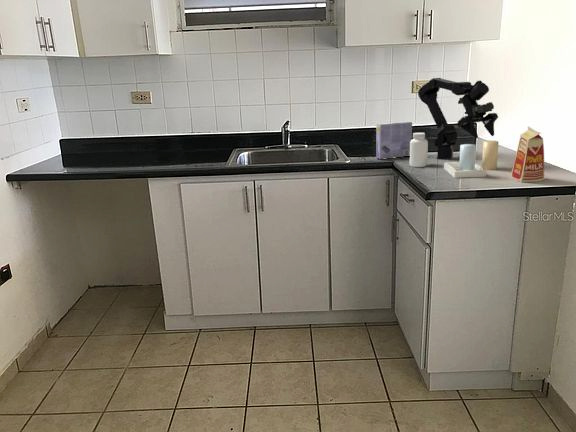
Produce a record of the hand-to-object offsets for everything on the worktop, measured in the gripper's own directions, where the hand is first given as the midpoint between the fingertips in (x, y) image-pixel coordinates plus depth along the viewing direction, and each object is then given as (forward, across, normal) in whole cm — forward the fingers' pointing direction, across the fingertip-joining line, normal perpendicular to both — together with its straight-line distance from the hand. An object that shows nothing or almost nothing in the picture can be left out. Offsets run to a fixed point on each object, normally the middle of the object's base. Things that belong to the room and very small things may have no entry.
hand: (485, 136), depth 216 cm
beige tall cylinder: (+15, -4, +2) cm, 16 cm away
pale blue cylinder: (+17, -20, -2) cm, 26 cm away
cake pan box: (-15, -17, +43) cm, 48 cm away
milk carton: (+29, -8, -17) cm, 34 cm away
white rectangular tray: (+15, -18, +2) cm, 23 cm away
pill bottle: (0, -22, +22) cm, 31 cm away
